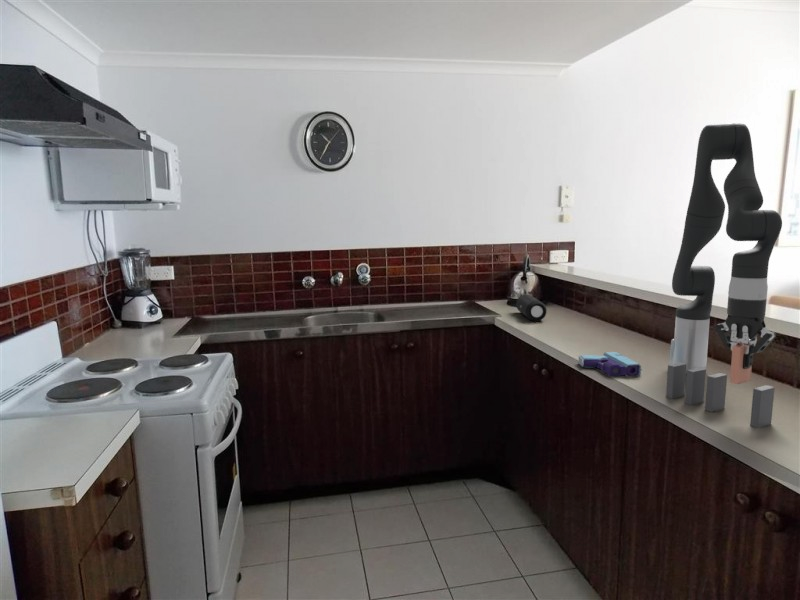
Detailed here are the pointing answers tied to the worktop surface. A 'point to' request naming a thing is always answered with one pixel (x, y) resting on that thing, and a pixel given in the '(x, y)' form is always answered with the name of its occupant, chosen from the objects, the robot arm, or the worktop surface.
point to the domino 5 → (762, 406)
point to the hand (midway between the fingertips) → (741, 367)
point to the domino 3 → (716, 392)
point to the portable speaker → (531, 307)
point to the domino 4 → (739, 366)
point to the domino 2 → (695, 386)
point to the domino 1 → (676, 380)
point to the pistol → (611, 364)
